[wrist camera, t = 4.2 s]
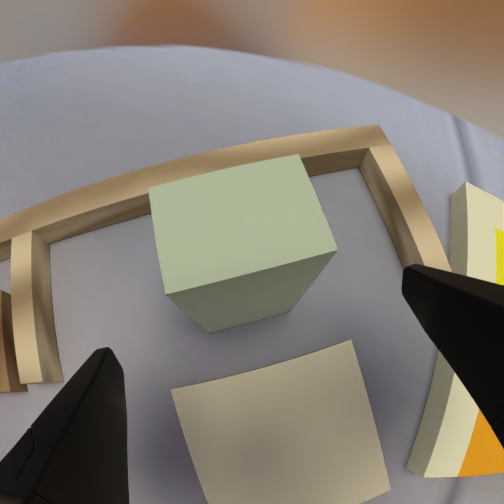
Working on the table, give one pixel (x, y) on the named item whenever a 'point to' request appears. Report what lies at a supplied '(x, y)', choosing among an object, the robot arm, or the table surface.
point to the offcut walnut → (8, 349)
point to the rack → (138, 204)
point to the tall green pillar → (240, 241)
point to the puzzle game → (444, 378)
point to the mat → (285, 433)
